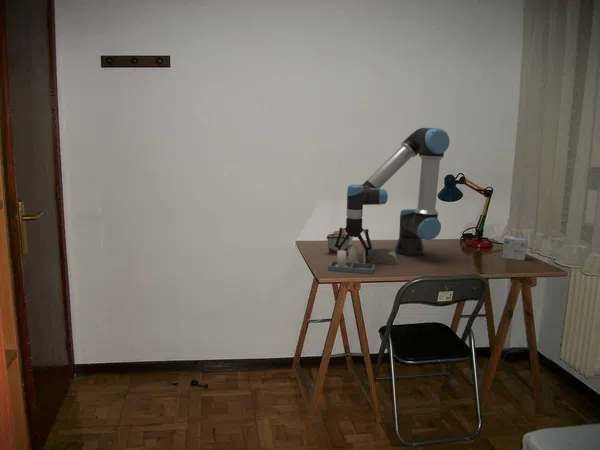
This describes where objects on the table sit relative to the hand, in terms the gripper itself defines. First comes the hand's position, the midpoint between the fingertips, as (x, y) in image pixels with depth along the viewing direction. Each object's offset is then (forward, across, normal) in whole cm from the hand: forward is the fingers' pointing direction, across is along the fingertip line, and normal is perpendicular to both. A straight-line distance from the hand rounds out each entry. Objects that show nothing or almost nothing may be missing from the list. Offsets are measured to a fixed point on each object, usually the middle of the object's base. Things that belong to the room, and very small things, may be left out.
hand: (352, 262), depth 244 cm
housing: (0, -1, +10) cm, 11 cm away
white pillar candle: (0, 0, 0) cm, 0 cm away
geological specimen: (+1, -13, -9) cm, 16 cm away
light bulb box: (+1, -78, -34) cm, 85 cm away
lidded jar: (+1, +10, -33) cm, 34 cm away
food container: (+1, +10, -17) cm, 20 cm away
